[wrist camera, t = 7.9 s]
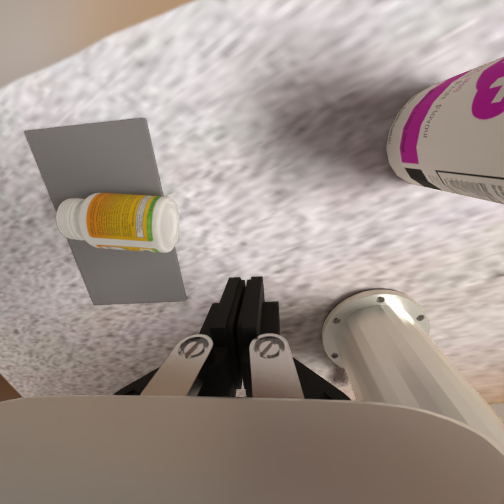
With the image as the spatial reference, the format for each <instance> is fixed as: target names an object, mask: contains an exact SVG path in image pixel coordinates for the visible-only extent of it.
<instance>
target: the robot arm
mask: <svg viewBox="0 0 504 504" xmlns="http://www.w3.org/2000/svg"><path fill="white" fill-rule="evenodd" d="M429 334H430V323H429V318H428V316H427V314H426V312H425V311H424V310H423V308H422V307H421V306H420V305H419V304H418V303H417V302H416V301H415V300H414V299H412V298H411V297H409V296H407V295H406V294H403V293H400V292H397V291H392V290H370V291H364V292H361V293H358V294H355V295H353V296H351V297H349V298H347V299H345V300H344V301H342V302H341V303H339V304H338V305H337V306H336V307H335V308H334V309H333V310H332V311H331V312H330V313H329V315H328V316H327V318H326V320H325V322H324V325H323V328H322V342H323V346H324V349H325V351H326V353H327V355H328V357H329V358H330V359H331V360H332V362H334V363H335V364H336V365H337V366H339V367H341V368H343V369H345V370H346V373H347V376H348V379H349V381H350V384H351V387H352V390H353V392H354V395H355V398H356V401H352V400H350V398H349V397H348V396H347V395H345V394H344V393H343V392H342V391H340V390H339V389H337V388H336V387H335V386H333V385H332V384H330V383H329V382H327V381H326V380H325V379H323V378H322V377H320V376H319V375H317V374H316V373H315V372H313V371H312V370H310V369H309V368H307V367H306V366H305V365H303V364H302V363H300V362H299V361H297V360H296V359H295V358H293V357H292V354H291V350H290V347H289V344H288V342H287V340H286V339H285V338H283V337H282V336H280V321H279V303H278V302H265V300H264V287H263V277H262V276H261V277H251V280H247V284H246V286H245V280H241V278H240V277H234V278H229V280H228V282H227V285H226V287H225V290H224V292H223V295H222V298H221V300H220V303H213V304H212V306H211V308H210V310H209V313H208V315H207V317H206V319H205V322H204V324H203V326H202V329H201V331H200V333H199V334H195V335H191V336H188V337H186V338H184V339H183V340H181V341H180V342H179V343H178V344H177V345H176V347H175V348H174V349H173V351H172V352H171V353H170V355H169V356H168V357H167V359H166V360H165V361H164V363H163V364H162V366H161V367H159V368H157V369H156V370H154V371H152V372H150V373H149V374H147V375H145V376H143V377H141V378H140V379H138V380H136V381H134V382H133V383H131V384H129V385H127V386H126V387H124V388H122V389H120V390H119V391H118V392H116V393H115V394H113V395H46V396H32V397H23V398H18V399H12V400H8V401H2V402H0V504H504V421H503V420H502V419H501V418H500V417H499V416H498V414H497V413H496V412H495V411H494V410H493V409H492V408H491V406H490V405H489V404H488V403H487V402H486V401H485V400H484V399H483V397H482V396H481V395H480V394H479V393H478V392H477V391H476V389H475V388H474V387H473V386H472V385H471V384H470V383H469V382H468V380H467V379H466V378H465V377H464V376H463V375H462V374H461V372H460V371H459V370H458V369H457V368H456V367H455V366H454V365H453V363H452V362H451V361H450V360H449V359H448V358H447V357H446V355H445V354H444V353H443V352H442V351H441V350H440V349H439V348H438V346H437V345H436V344H435V343H434V342H433V341H432V340H431V338H430V337H429ZM242 379H243V383H244V389H246V396H247V397H235V396H236V390H237V389H241V386H242Z"/></svg>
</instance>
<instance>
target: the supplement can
mask: <svg viewBox="0 0 504 504" xmlns="http://www.w3.org/2000/svg"><path fill="white" fill-rule="evenodd" d="M386 150H387V155H388V161H389V164H390V166H391V167H392V169H393V170H394V172H395V173H396V175H397V176H398V177H400V178H401V179H403V180H405V181H406V182H408V183H410V184H415V185H419V186H424V187H429V188H433V189H438V190H442V191H447V192H451V193H456V194H460V195H465V196H469V197H474V198H478V199H483V200H487V201H492V202H497V203H501V204H504V57H502V58H500V59H497V60H495V61H492V62H490V63H487V64H485V65H482V66H480V67H477V68H475V69H472V70H470V71H467V72H464V73H462V74H459V75H457V76H454V77H452V78H449V79H447V80H444V81H442V82H439V83H437V84H434V85H432V86H429V87H428V88H426V89H424V90H423V91H421V92H420V93H418V94H416V95H415V96H413V97H412V98H411V99H410V100H409V101H408V102H407V103H406V104H405V105H404V107H403V108H402V109H401V110H400V111H399V112H398V114H397V116H396V118H395V120H394V122H393V124H392V126H391V128H390V130H389V134H388V140H387V146H386Z"/></svg>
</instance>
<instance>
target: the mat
mask: <svg viewBox="0 0 504 504" xmlns="http://www.w3.org/2000/svg"><path fill="white" fill-rule="evenodd" d="M24 132H25V134H26V137H27V139H28V142H29V144H30V147H31V149H32V152H33V154H34V157H35V159H36V162H37V164H38V167H39V169H40V172H41V174H42V177H43V179H44V182H45V184H46V187H47V189H48V192H49V194H50V197H51V199H52V202H53V204H54V207H55V209H56V212H57V210H58V207H59V206H60V204H61V203H62V202H63V201H64V200H66V199H70V198H80V199H86V198H87V197H88V196H90V195H92V194H95V193H116V194H132V195H149V196H163V192H162V187H161V183H160V178H159V174H158V169H157V165H156V160H155V156H154V151H153V147H152V143H151V138H150V134H149V129H148V125H147V120H146V118H138V119H128V120H119V121H110V122H101V123H92V124H83V125H74V126H65V127H56V128H47V129H38V130H29V131H24ZM67 239H68V242H69V244H70V247H71V249H72V252H73V254H74V257H75V259H76V262H77V264H78V267H79V269H80V272H81V274H82V277H83V279H84V282H85V284H86V287H87V289H88V292H89V294H90V297H91V299H92V302H93V304H94V305H111V304H134V303H156V302H178V301H186V294H185V290H184V285H183V281H182V277H181V272H180V268H179V263H178V259H177V254H176V250H175V246H174V248H173V249H172V250H171V251H170V252H167V253H160V252H145V251H130V250H116V249H102V248H96V247H94V246H92V245H90V244H88V243H87V242H86V241H85V240H75V239H69V238H67Z"/></svg>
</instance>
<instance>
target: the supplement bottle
mask: <svg viewBox="0 0 504 504" xmlns="http://www.w3.org/2000/svg"><path fill="white" fill-rule="evenodd" d="M56 222H57V226H58V228H59V230H60V232H61V233H62V234H63V235H64V236H65V237H67V238H69V239H75V240H85V241H86V242H87V243H88V244H90V245H92V246H94V247H96V248H102V249H116V250H130V251H145V252H160V253H167V252H170V251H171V250H172V249H173V248H174V246H175V244H176V242H177V239H178V235H179V214H178V209H177V205H176V203H175V202H174V200H173V199H172V198H170V197H164V196H149V195H132V194H116V193H95V194H92V195H90V196H88V197H87V198H86V199H80V198H70V199H66V200H64V201H63V202H62V203H61V204H60V206H59V207H58V210H57V214H56Z"/></svg>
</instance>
